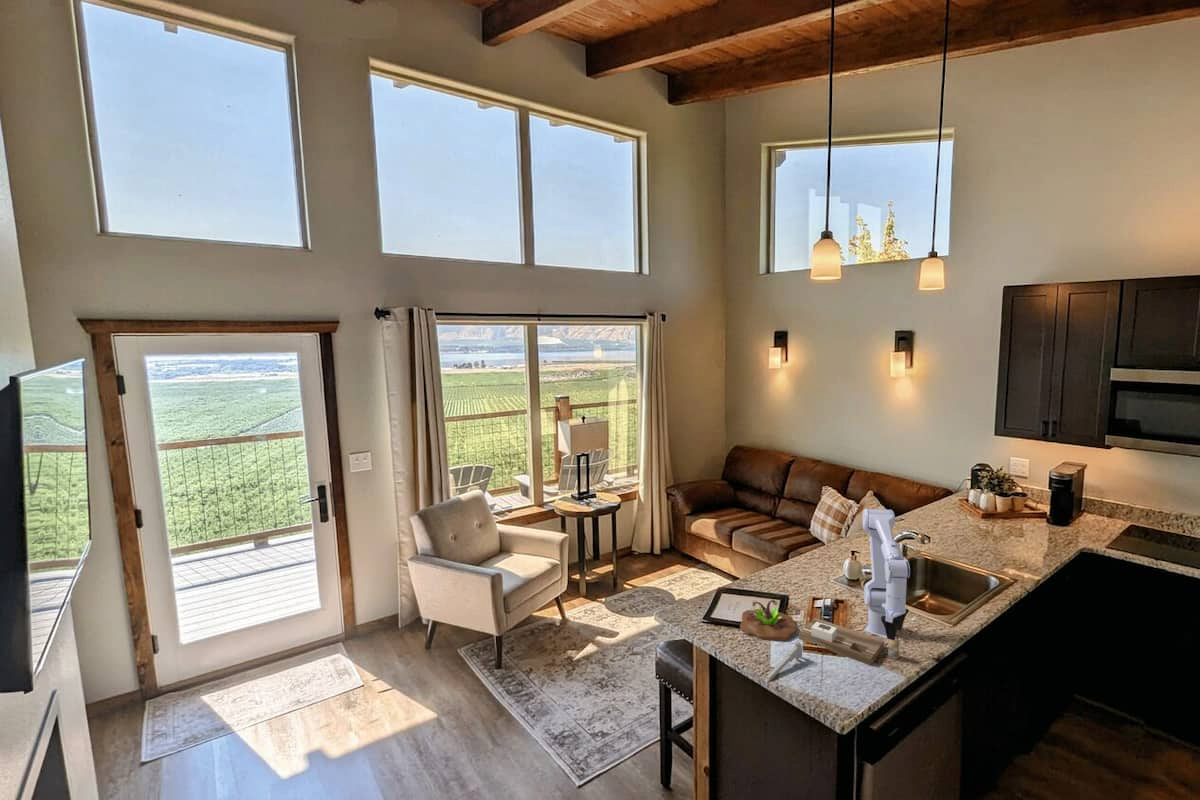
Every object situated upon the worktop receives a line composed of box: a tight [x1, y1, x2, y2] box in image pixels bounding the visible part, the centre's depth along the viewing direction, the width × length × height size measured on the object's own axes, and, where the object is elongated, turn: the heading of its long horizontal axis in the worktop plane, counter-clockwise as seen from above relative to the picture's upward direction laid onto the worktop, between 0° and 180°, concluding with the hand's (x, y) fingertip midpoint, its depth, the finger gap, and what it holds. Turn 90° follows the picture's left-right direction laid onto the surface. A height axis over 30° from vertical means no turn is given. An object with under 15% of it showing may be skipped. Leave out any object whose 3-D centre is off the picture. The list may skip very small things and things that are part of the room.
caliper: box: [764, 640, 803, 683], centre depth 181 cm, size 20×1×6 cm, turn 131°
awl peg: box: [887, 637, 900, 661], centre depth 188 cm, size 3×3×6 cm
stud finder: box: [811, 622, 837, 642], centre depth 197 cm, size 5×7×3 cm
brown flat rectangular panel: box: [798, 617, 885, 666], centre depth 197 cm, size 14×24×2 cm, turn 47°
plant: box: [739, 599, 798, 642], centre depth 207 cm, size 20×20×11 cm
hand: (894, 634), depth 187 cm, fingers open, 7 cm apart
